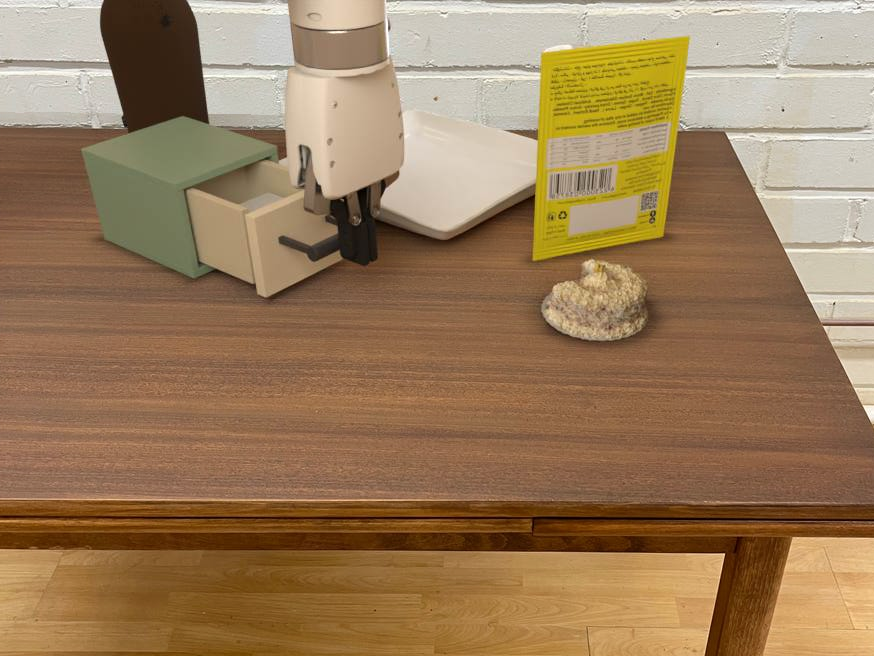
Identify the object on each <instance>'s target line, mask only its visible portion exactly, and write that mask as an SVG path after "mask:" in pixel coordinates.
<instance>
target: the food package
mask: <svg viewBox="0 0 874 656" xmlns="http://www.w3.org/2000/svg"><path fill="white" fill-rule="evenodd" d="M690 39H691V37H690V36H689V35H684V36H676V37H666V38H657V39H649V40H648V39H647V40H639V41H629V42H620V43H612V44H604V45H602V44H601V45H595V46H593V45H592V46H593V47H585V48H576V49H567V50H560V51H551V52H544V51H543V52H541V55H540V75H539V78H540V79H539V81H540V82H539V99H538V100H539V102H538V103H539V104H538V123H537V125H538V127H537V141H538V145H537V169H536V192H535V197H534V219H533V220H534V221H533V239H532V240H533V241H532V242H533V243H532V262H537V261H542V260H547V259H552V258H557V257H562V256H569V255H574V254H578V253H579V254H580V253H583V252H589V251H594V250H601V249H605V248H610V247H616V246H621V245H627V244H632V243H637V242H638V243H639V242H643V241H649V240H655V239H660V238H664V233H665V226H666V221H667V211H668V205H669V197H670V190H671V182H672V174H673V167H674V160H675V152H676V146H677V137H678V132H679V131H678V130H679V123H680V115H681V108H682V100H683V91H684V84H685V79H686V72H687V64H688V55H689V47H690V46H689V45H690Z"/></svg>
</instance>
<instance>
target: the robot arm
mask: <svg viewBox="0 0 874 656" xmlns="http://www.w3.org/2000/svg"><path fill="white" fill-rule="evenodd" d="M286 2H287V9H288V17H289V25H290V27H289V28H290V34H291V43H292V52H293V60H294V62H293V63H294V65H293V66H291V67H289V68H287V73H286V80H285V81H286V82H285V92H284V93H285V97H284V98H285V99H284V127H285V128H284V130H285V132H284V133H285V147H286V149H285V150H286V157H287V161H288V170H289V177H290V182H291V185H292V186H293V187H294V188H296V189H305V190H304V206H303V207H304V210H305V211H306V212H309V213H311V214H314V215H324V214H330V216H331V218H334V219H336V220H337V227H338V237H339V248H340V255H341V257H342V258H343V259H342V260H346V261H348V262H351V263H353V264H356V265H359V266H362V267H366V266H368V265H369V264H370V263H373V262H375V261H377V260H378V258H379V257H378V256H379V255H378V243H377V241H378V240H377V230H376V229H377V227H376V219H374V217H377V216H378V215H379V213H380V201H381V198H382V196H383V193H384V191H385V189H386V188H387V187H388V186H390V185H391V184H392V183H393V182H394V181H396V180H397V179H398V177H399V169H400V168H401V167H402V165H403V162H404V127H403V116H402V113H403V109H402V108H403V107H402V101H401V94H400V88H399V81H398V77H397V72H396V68H395V64H394V60H393V56H392V55H391V54H390V45H389V44H390V43H389V32H390V31H391V27H392V25H391V24H392V23H391V21H390V19H389V18H388V10H387V8H388V7H387V0H287V1H286ZM341 199H343V200H344V202H343V201H342V200H341Z"/></svg>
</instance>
